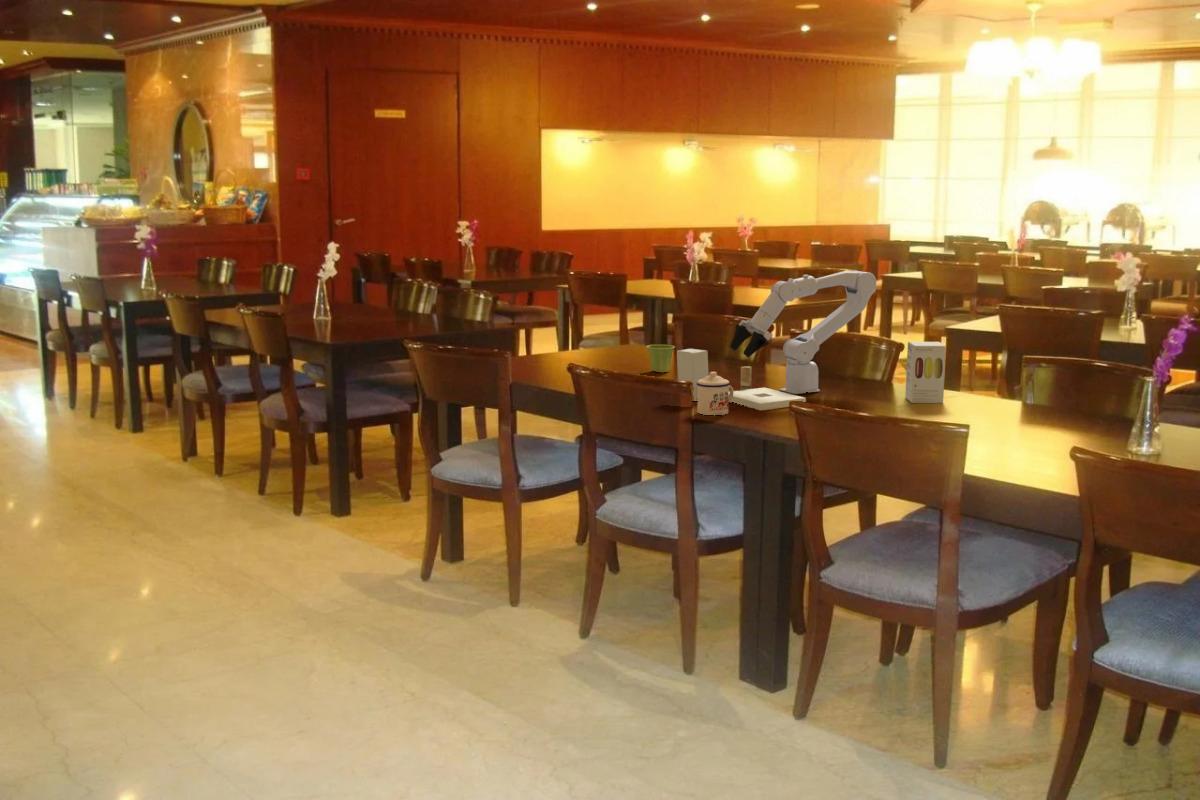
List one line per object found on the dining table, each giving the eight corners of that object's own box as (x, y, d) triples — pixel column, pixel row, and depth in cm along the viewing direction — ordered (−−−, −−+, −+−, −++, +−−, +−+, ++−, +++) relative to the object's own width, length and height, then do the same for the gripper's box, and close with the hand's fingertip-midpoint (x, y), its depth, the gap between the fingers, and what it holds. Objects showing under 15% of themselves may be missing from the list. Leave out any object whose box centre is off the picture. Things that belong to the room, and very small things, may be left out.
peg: (747, 391, 368) (747, 366, 367) (753, 393, 365) (753, 367, 364) (738, 393, 367) (738, 367, 365) (744, 394, 364) (744, 368, 362)
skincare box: (709, 400, 355) (710, 350, 353) (693, 402, 352) (693, 352, 349) (692, 396, 362) (692, 347, 360) (676, 398, 359) (676, 349, 356)
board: (764, 393, 364) (764, 387, 364) (805, 404, 347) (805, 397, 347) (720, 399, 357) (720, 392, 357) (760, 410, 340) (760, 403, 339)
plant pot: (656, 368, 414) (656, 343, 412) (679, 371, 408) (679, 345, 407) (641, 372, 406) (641, 347, 404) (664, 375, 401) (664, 349, 399)
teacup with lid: (711, 418, 330) (711, 376, 328) (689, 413, 338) (689, 371, 335) (743, 412, 338) (744, 371, 335) (721, 407, 345) (721, 367, 343)
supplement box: (910, 403, 347) (912, 345, 344) (904, 397, 356) (906, 341, 353) (944, 403, 347) (946, 345, 343) (937, 397, 356) (939, 340, 353)
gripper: (744, 302, 365) (718, 338, 364) (771, 314, 352) (743, 351, 352) (758, 315, 368) (732, 351, 368) (785, 327, 356) (758, 364, 356)
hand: (738, 352), depth 360 cm, fingers open, 7 cm apart
